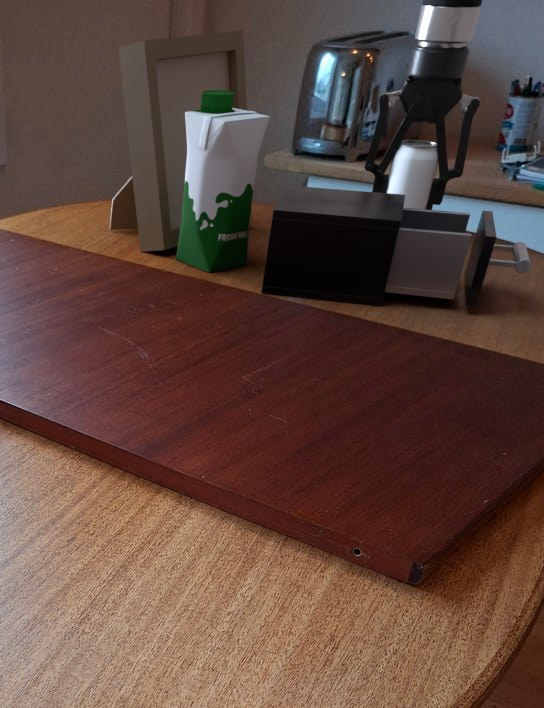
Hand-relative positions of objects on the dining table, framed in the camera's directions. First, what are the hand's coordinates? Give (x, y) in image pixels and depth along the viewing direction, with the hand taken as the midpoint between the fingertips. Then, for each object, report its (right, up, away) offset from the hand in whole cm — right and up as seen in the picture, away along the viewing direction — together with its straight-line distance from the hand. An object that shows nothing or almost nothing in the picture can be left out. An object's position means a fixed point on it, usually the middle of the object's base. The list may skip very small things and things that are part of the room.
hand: (400, 224), depth 134 cm
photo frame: (-35, -2, -1) cm, 35 cm away
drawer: (-4, -19, -24) cm, 31 cm away
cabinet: (-17, -17, -19) cm, 31 cm away
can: (0, -1, +1) cm, 1 cm away
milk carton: (-31, -11, -12) cm, 35 cm away
